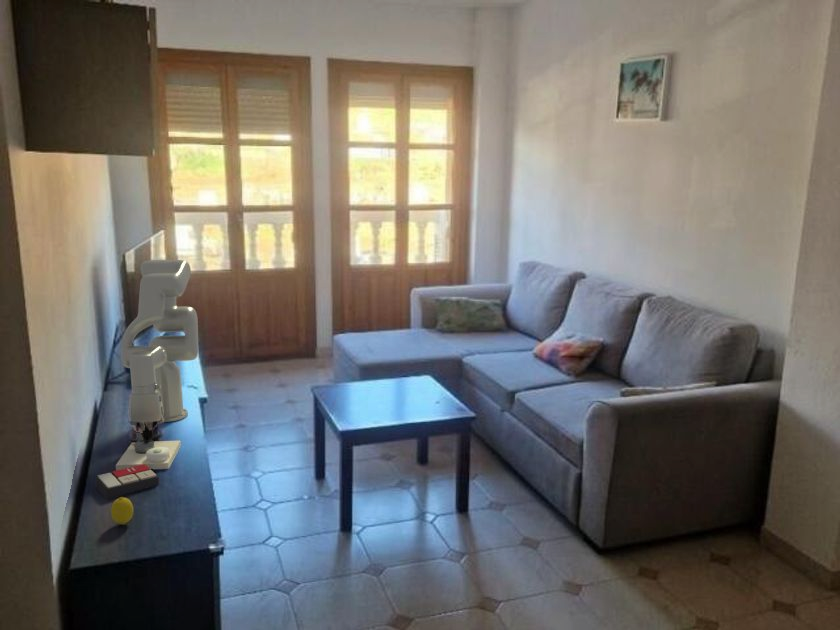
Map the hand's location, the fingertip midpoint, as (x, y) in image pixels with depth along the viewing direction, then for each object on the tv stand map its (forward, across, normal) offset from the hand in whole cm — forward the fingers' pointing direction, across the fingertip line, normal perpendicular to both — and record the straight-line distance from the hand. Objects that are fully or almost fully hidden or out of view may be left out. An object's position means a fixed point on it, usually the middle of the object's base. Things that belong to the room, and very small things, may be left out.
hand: (148, 439), depth 234 cm
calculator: (+4, 0, +27) cm, 27 cm away
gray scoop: (+1, +2, +2) cm, 3 cm away
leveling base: (+3, -2, +8) cm, 8 cm away
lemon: (+4, -4, +51) cm, 51 cm away
